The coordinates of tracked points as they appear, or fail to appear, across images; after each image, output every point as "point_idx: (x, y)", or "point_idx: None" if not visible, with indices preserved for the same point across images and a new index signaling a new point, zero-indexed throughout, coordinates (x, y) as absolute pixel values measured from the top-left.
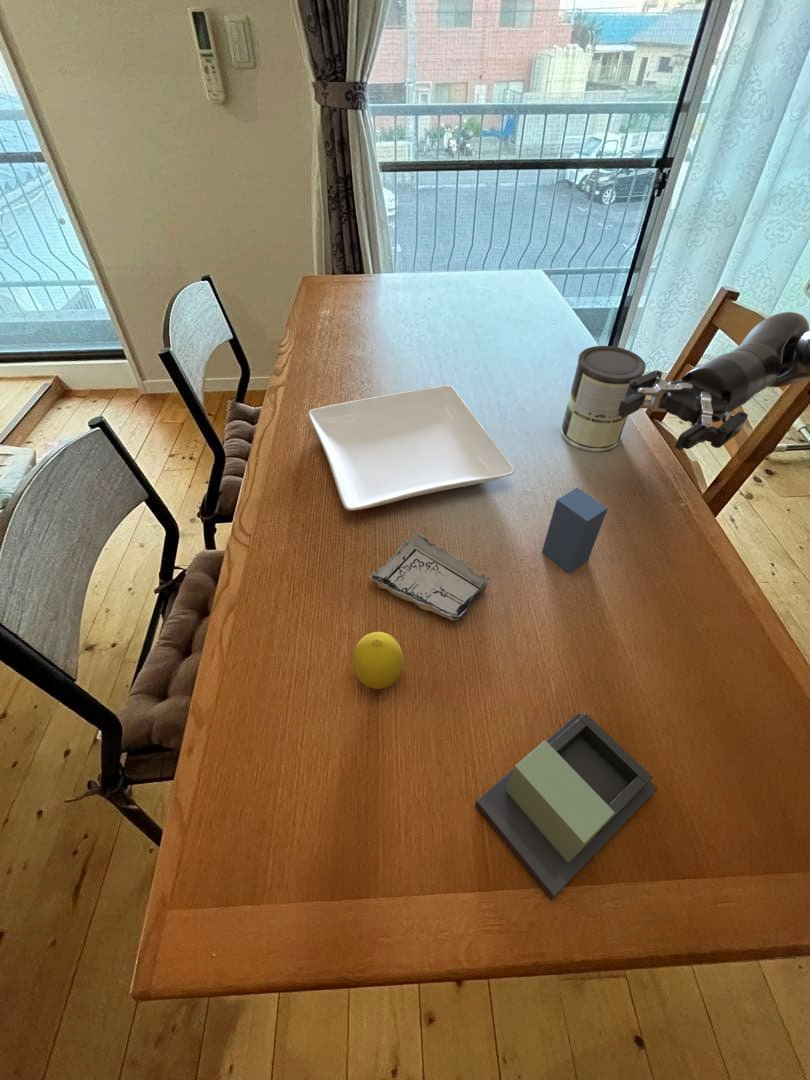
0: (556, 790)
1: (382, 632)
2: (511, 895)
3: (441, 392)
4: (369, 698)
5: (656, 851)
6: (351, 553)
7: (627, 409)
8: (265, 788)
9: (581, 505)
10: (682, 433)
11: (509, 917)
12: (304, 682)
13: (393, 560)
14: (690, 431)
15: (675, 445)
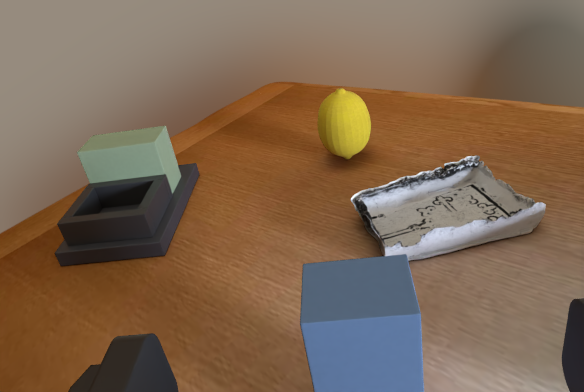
0: (126, 135)
1: (354, 105)
2: None
3: None
4: None
5: (48, 243)
6: (554, 177)
7: (582, 355)
8: None
9: (352, 281)
10: (144, 339)
11: None
12: (385, 127)
13: (505, 192)
14: (104, 384)
15: (174, 377)
